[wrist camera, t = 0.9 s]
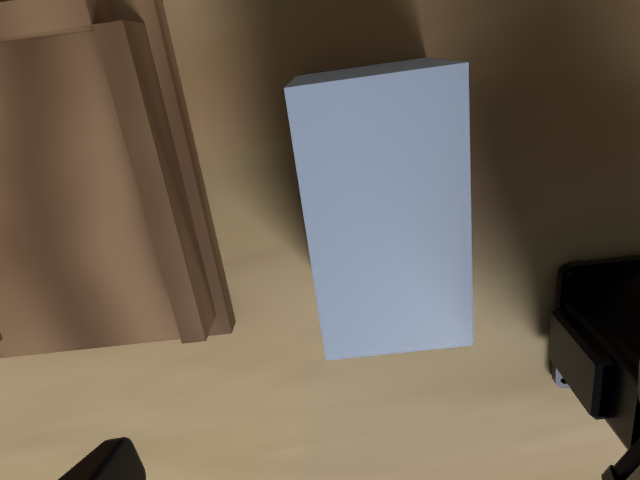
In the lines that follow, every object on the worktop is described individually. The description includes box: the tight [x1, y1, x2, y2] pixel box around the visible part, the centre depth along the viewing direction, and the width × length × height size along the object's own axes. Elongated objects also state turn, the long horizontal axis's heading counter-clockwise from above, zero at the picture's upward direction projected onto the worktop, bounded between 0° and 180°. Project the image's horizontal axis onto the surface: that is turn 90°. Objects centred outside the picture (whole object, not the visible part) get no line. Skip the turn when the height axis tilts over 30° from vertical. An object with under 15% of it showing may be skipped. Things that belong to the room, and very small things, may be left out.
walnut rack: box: [0, 0, 236, 358], centre depth 19 cm, size 12×14×3 cm
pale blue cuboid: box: [284, 57, 474, 360], centre depth 17 cm, size 5×9×6 cm, turn 8°
